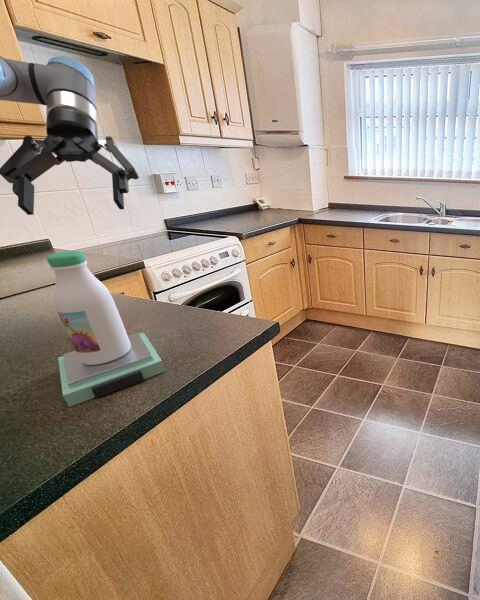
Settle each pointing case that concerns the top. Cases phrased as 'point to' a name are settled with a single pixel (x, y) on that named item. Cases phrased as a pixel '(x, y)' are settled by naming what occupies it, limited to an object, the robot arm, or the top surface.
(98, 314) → the milk bottle
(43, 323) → the top surface
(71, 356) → the scale pan
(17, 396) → the top surface
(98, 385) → the scale
